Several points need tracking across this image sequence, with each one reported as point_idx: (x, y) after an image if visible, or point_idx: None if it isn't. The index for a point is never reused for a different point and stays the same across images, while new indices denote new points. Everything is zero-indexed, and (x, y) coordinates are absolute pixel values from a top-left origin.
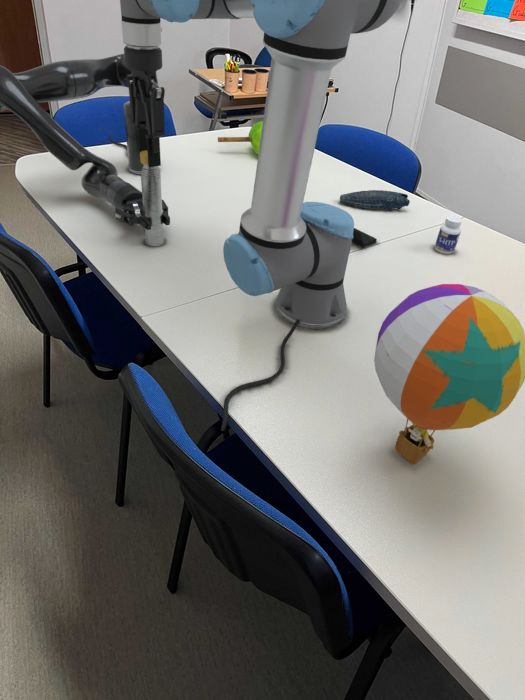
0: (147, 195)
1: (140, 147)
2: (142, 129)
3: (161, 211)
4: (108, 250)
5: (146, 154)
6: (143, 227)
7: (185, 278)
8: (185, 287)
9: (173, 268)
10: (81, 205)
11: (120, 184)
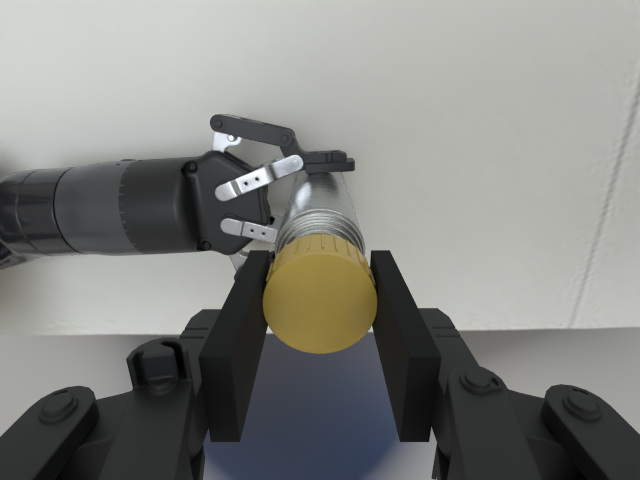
0: None
1: (260, 345)
2: (205, 402)
3: (344, 187)
4: None
5: (335, 329)
6: None
7: (514, 199)
8: (545, 217)
9: (460, 202)
10: (43, 262)
11: (105, 233)
